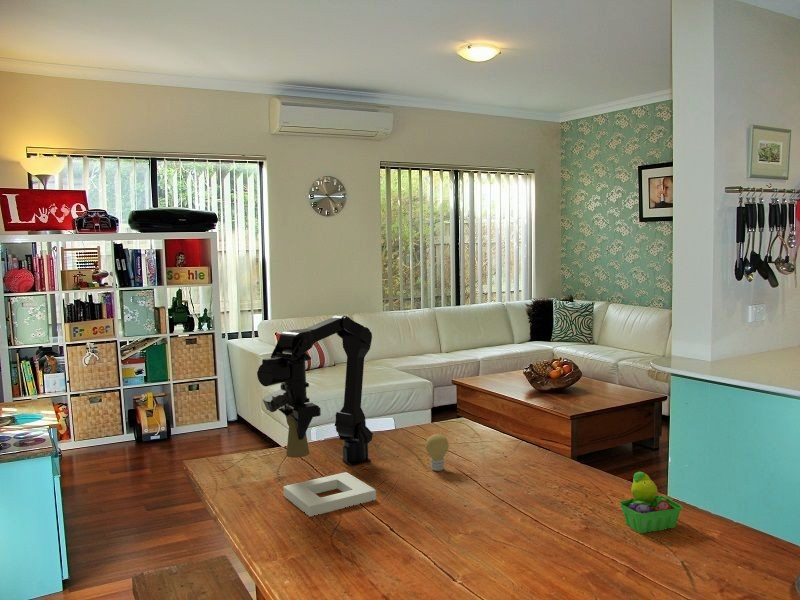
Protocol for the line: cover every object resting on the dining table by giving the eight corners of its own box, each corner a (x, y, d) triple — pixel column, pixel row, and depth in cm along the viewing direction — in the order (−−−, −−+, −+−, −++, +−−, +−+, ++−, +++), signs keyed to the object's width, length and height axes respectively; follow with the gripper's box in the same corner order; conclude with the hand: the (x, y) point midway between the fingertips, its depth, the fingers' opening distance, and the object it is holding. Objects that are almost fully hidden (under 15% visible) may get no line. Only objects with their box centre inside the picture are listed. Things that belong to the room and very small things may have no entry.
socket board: (346, 481, 182) (346, 472, 181) (376, 499, 168) (375, 489, 168) (283, 495, 172) (283, 486, 172) (309, 516, 159) (309, 506, 158)
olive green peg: (281, 455, 178) (279, 414, 177) (295, 449, 183) (294, 409, 182) (300, 458, 175) (298, 417, 174) (314, 452, 180) (312, 411, 179)
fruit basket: (638, 537, 144) (638, 485, 143) (614, 520, 152) (614, 472, 151) (684, 529, 147) (684, 479, 146) (658, 514, 155) (658, 466, 154)
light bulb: (449, 465, 192) (448, 431, 191) (448, 473, 185) (448, 438, 184) (426, 465, 192) (426, 431, 191) (425, 473, 186) (424, 438, 185)
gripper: (253, 377, 181) (256, 434, 182) (278, 389, 165) (281, 452, 167) (292, 372, 187) (294, 427, 188) (320, 383, 171) (322, 443, 172)
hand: (297, 437), depth 179 cm, fingers closed on olive green peg, 4 cm apart
